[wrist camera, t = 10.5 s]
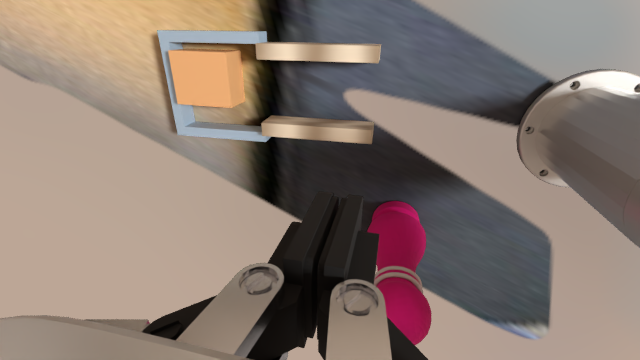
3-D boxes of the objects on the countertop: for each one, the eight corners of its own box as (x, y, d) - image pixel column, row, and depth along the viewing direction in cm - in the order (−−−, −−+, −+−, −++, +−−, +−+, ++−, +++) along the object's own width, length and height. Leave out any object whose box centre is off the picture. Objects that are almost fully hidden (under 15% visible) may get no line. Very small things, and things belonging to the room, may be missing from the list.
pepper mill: (425, 239, 43) (448, 385, 26) (373, 243, 45) (361, 381, 28) (419, 194, 40) (441, 322, 23) (364, 200, 42) (345, 322, 25)
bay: (266, 31, 36) (258, 31, 33) (272, 135, 41) (265, 141, 39) (170, 30, 38) (157, 30, 36) (188, 129, 43) (177, 134, 41)
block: (241, 50, 37) (225, 52, 34) (245, 100, 40) (231, 107, 36) (188, 48, 39) (168, 50, 35) (195, 97, 41) (177, 104, 38)
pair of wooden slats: (380, 44, 34) (379, 45, 31) (373, 134, 38) (371, 144, 35) (266, 42, 36) (255, 43, 33) (272, 127, 41) (262, 135, 38)
